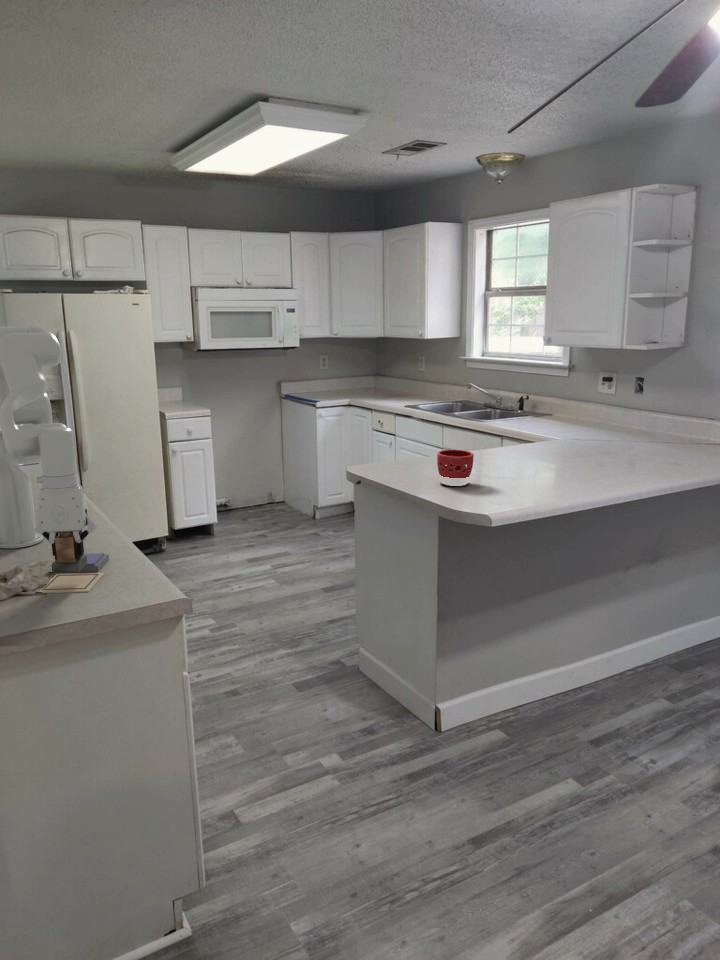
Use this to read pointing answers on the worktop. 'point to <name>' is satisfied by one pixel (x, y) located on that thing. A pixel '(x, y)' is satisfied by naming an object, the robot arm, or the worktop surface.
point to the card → (72, 582)
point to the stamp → (67, 554)
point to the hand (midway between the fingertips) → (68, 557)
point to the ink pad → (93, 562)
